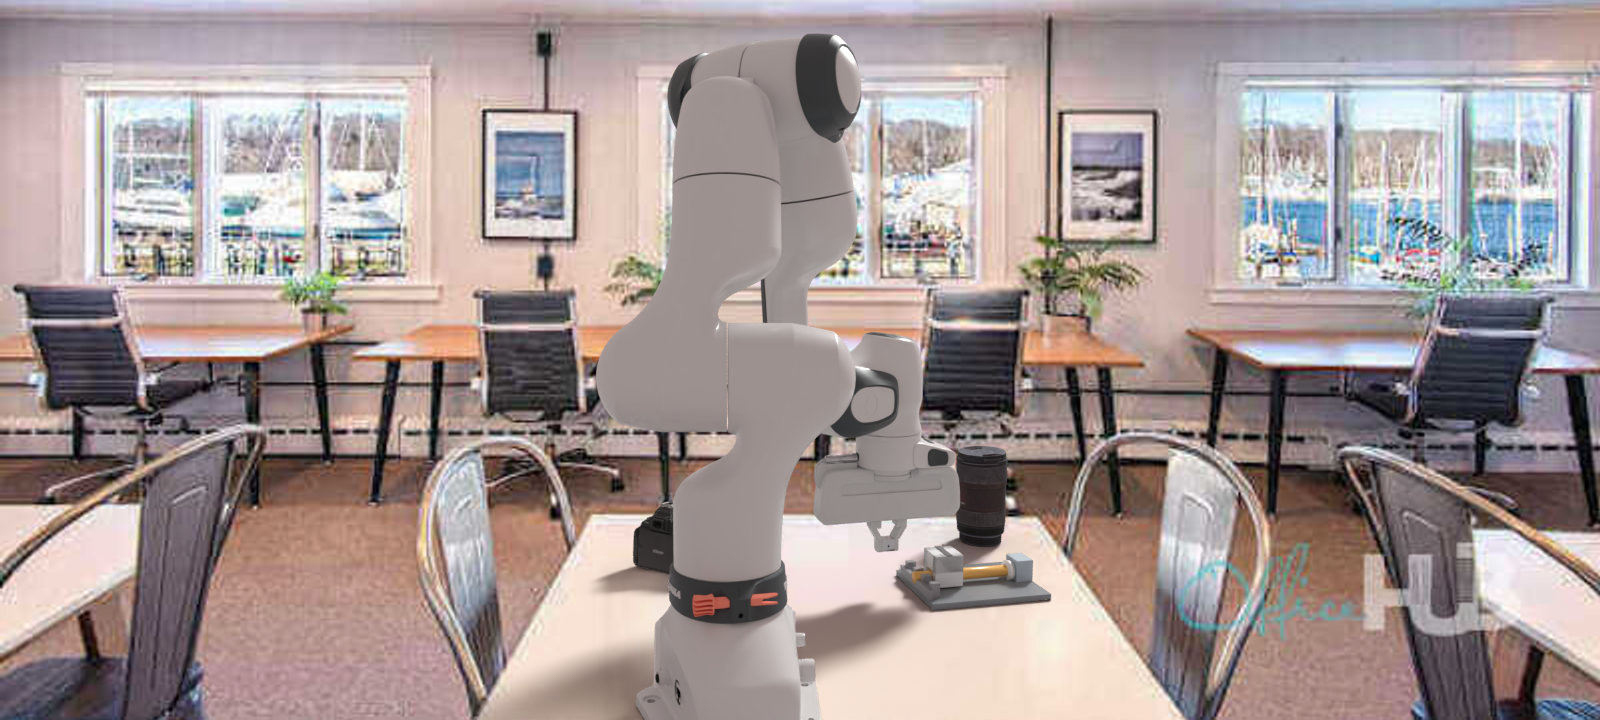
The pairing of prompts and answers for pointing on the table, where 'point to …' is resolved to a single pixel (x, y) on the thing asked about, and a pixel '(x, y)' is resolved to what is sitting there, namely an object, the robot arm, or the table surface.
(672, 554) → the camera
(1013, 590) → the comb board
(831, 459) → the robot arm
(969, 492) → the camera lens
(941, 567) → the sleeve
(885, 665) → the table surface
